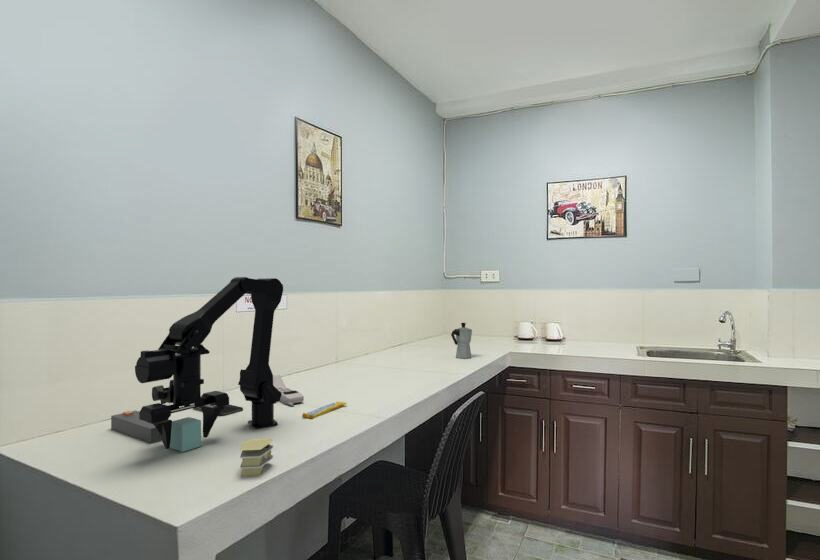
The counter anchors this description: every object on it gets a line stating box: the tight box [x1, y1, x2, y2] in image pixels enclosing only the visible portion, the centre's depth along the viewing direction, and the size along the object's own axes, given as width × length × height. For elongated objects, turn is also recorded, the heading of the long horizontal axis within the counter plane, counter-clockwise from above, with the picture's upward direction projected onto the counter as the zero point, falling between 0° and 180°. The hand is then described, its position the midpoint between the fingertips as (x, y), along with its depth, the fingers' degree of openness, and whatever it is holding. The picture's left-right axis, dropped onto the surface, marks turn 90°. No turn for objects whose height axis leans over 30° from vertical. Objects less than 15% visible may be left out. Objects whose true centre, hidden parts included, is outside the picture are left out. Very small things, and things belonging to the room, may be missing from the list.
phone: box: [192, 404, 244, 417], centre depth 138 cm, size 8×1×15 cm
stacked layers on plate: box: [239, 437, 274, 477], centre depth 94 cm, size 10×9×6 cm
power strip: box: [110, 410, 162, 444], centre depth 117 cm, size 20×6×4 cm, turn 56°
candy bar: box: [301, 401, 348, 420], centre depth 136 cm, size 17×4×2 cm, turn 151°
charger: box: [169, 416, 202, 453], centre depth 107 cm, size 8×4×6 cm, turn 56°
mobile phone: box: [273, 374, 305, 407], centre depth 152 cm, size 6×6×25 cm
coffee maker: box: [450, 322, 473, 360], centre depth 235 cm, size 15×9×18 cm, turn 130°
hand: (186, 442), depth 106 cm, fingers open, 9 cm apart
